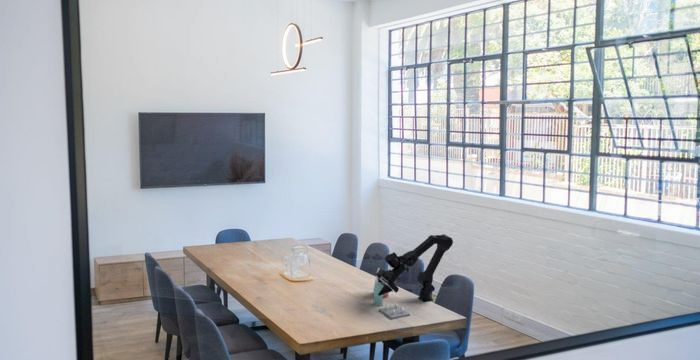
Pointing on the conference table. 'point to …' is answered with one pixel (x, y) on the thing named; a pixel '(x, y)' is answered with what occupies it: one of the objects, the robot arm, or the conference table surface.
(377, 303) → the rounded cone
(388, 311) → the pin board
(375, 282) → the ink cartridge box
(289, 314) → the conference table surface
